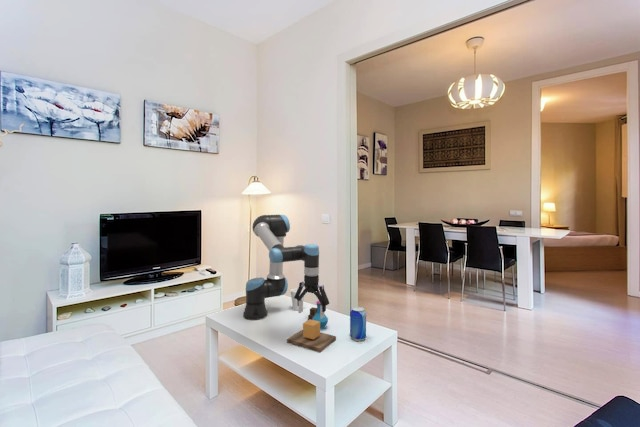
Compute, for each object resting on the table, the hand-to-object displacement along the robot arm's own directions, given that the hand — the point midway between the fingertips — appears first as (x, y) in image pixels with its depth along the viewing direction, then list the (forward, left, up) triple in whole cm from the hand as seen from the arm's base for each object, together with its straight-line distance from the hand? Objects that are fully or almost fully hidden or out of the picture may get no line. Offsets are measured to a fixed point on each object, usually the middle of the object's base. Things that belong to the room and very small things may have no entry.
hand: (311, 315), depth 161 cm
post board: (0, 0, -14) cm, 14 cm away
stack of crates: (-15, +28, -15) cm, 35 cm away
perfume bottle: (-6, +18, -14) cm, 23 cm away
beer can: (+19, +16, -14) cm, 29 cm away
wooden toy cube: (0, 0, -11) cm, 11 cm away
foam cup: (-35, +36, -14) cm, 52 cm away
